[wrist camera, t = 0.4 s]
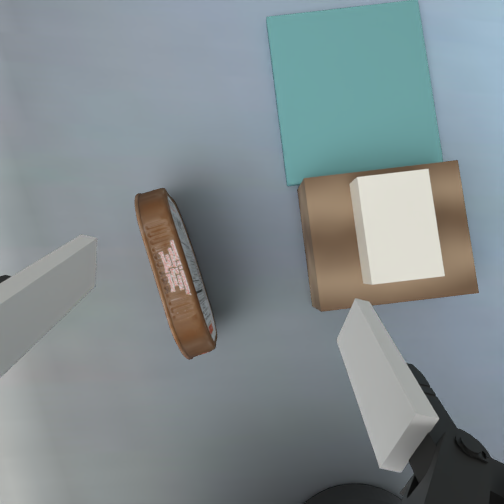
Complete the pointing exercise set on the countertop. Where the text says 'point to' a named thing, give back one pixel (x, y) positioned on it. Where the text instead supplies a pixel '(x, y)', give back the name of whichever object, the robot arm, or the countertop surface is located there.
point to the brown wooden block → (346, 247)
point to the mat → (353, 90)
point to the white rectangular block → (396, 227)
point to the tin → (176, 273)
